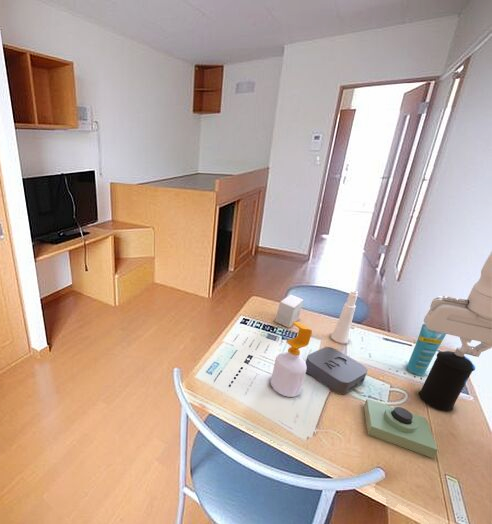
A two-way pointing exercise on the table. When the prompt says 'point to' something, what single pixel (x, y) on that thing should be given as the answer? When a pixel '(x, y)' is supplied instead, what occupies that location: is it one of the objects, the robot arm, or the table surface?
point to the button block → (399, 429)
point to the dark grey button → (402, 415)
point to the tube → (424, 350)
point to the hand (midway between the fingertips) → (468, 353)
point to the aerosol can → (446, 380)
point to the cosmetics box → (289, 310)
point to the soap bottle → (291, 365)
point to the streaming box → (335, 370)
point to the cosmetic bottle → (345, 319)
